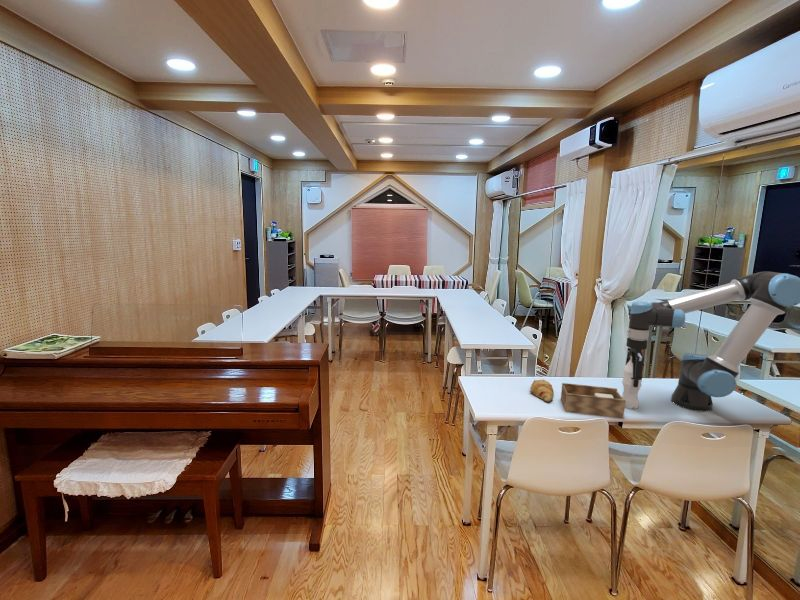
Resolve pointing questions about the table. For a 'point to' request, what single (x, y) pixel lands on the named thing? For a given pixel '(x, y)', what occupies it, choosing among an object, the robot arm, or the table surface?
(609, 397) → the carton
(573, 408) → the crate
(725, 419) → the table surface
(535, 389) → the croissant
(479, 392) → the table surface
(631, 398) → the water bottle
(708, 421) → the table surface
